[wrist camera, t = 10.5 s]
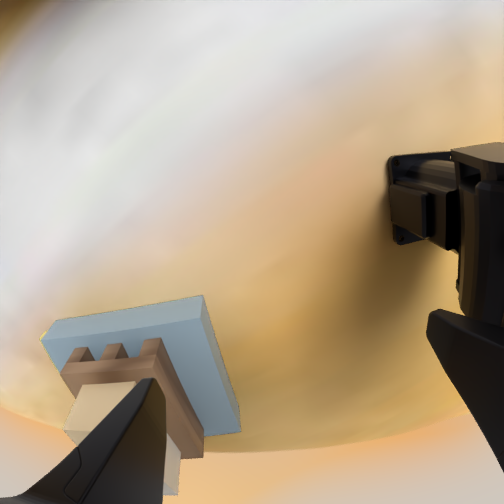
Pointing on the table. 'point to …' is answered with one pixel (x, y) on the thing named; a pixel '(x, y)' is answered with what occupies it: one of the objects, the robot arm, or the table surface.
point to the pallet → (134, 369)
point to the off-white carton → (171, 468)
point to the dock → (177, 346)
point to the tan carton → (93, 407)
